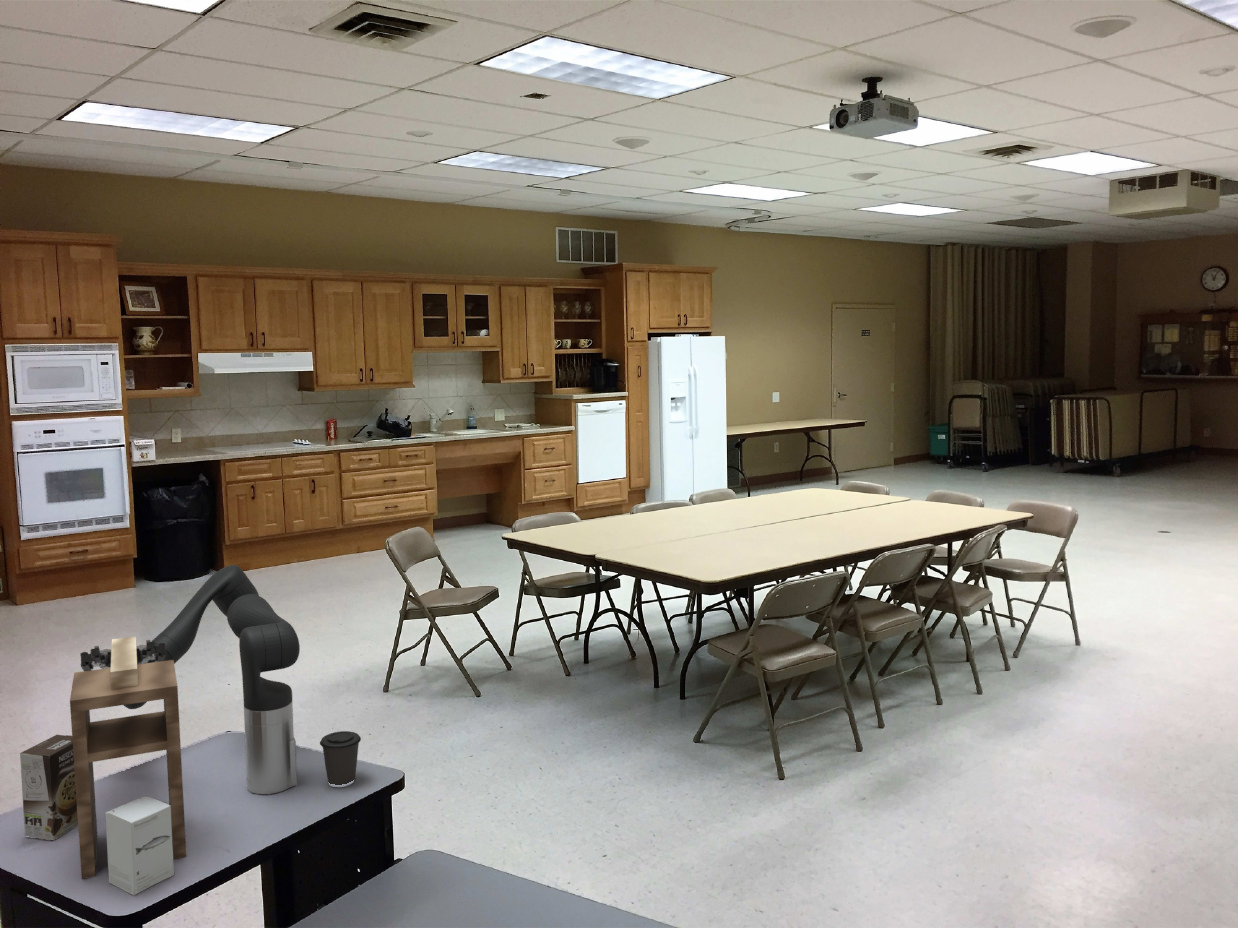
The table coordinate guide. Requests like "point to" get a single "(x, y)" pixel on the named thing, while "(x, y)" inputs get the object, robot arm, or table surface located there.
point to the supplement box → (139, 844)
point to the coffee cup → (340, 756)
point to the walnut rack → (124, 743)
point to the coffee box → (49, 788)
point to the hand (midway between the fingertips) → (122, 648)
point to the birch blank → (124, 663)
